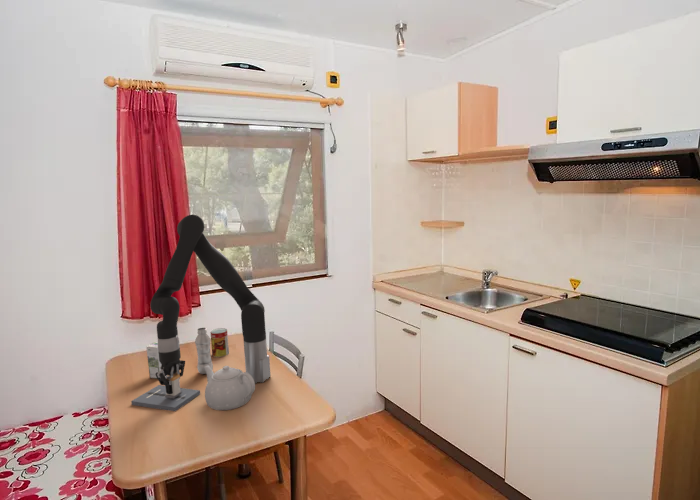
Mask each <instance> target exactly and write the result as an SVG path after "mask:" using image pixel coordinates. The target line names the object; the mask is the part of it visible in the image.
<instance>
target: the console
mask: <svg viewBox="0 0 700 500" xmlns="http://www.w3.org/2000/svg"><path fill="white" fill-rule="evenodd" d="M180 391H182V394H180V395H179V396H177V397H176V398H174V399H173V398H166V397H165V395H166V386H165V385H161V384H158V385H156V386H154V387H152V388H151V389H149V390H148V391H146V392H144V393H142V394H141V395H139V396H138V397H136V398H134V399H132V400H131V401H130V402H131V405H132V406H138V407H143V408H149V409H157V410H164V411H170V412H177V411H179V409H181V408H182V407H184V406H185V405H186V404H188V403H190V402H191V401H192V400H194V399H195V398H196V397H198V396H200V395H201V390H199V389H192V388H185V387H184V388H183V387H180Z"/></svg>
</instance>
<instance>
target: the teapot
mask: <svg viewBox="0 0 700 500" xmlns="http://www.w3.org/2000/svg"><path fill="white" fill-rule="evenodd" d="M203 369H204V370H205V371H206V374H205V375H206V379H207V380H206V381H207V383H206V386H205V389H204V400H205V402H206V405H207V406H208V407H209V408H210V409H212V410H215V411H228V410H234V409H237V408H240V407H242V406H245V405H246V404H247V403H248V402H249V401H250V400H251V398H252V396H253V394H254V392H255V391H256V383H255V382H254V379H253V378H252V376H251V375H250V374H249V373H247V372H246V371H243V370H241V369H239V368H235V367H230V366H229V365H225V366H223V367H222V368H220V369H218V370H216V371H215V372H214V371H213V370H212V369H211V368H210V366H205V367H204V368H203Z"/></svg>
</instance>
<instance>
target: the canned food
mask: <svg viewBox="0 0 700 500" xmlns="http://www.w3.org/2000/svg"><path fill="white" fill-rule="evenodd" d="M209 333H210V340H211V342H210V346H211V353H212V354H211V355H212V356H214V358H223V357H226V356H228V355H229V354H230V349H229V338H228V337H229V336H228V329H227V328H222V327H218V328H215V329H211V330H210V332H209ZM222 356H223V357H222Z"/></svg>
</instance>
